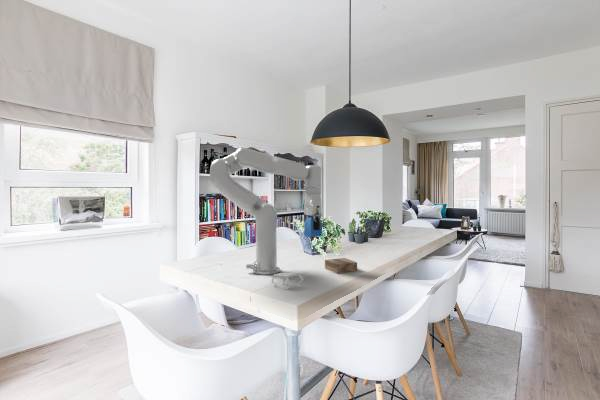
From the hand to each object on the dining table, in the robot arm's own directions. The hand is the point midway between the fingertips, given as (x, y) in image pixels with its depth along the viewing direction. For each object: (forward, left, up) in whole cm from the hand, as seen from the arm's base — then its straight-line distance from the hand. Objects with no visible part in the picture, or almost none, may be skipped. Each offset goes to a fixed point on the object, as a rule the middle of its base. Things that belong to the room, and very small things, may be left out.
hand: (312, 228), depth 158 cm
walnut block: (+11, -7, -19) cm, 23 cm away
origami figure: (-21, -21, -20) cm, 35 cm away
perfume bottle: (0, 0, -3) cm, 3 cm away
